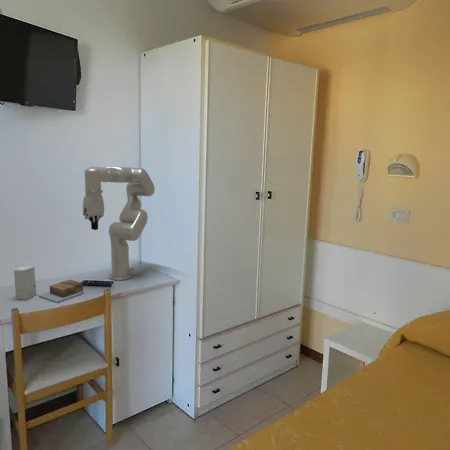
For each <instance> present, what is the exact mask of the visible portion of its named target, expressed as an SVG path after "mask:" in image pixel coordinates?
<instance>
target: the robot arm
mask: <svg viewBox="0 0 450 450" xmlns="http://www.w3.org/2000/svg"><path fill="white" fill-rule="evenodd" d="M102 183H115V184H116V183H127V184H126V187H125V188H126V189H125V190H126V197H127V200H126V201H127V202H126V204H125V206H124V207H123V209H122V211H121V212H120V214H119V217H118V218H119V219H118V220H119V221H115V222H113V223H110V225H109V226H108V227H109V228H108V236H109V239H110V251H111V252H110V255H111V256H110V257H111V258H110V259H111V273H109V275H108V278H109V279H110V280H114V281H125V280H129V279H130V278H132V276H133V274H132V273H131V272H133V271H135V266H133V267H130V261H129V260H130V259H129V257H130V256H129V255H130V253H129V250H130V248H129V243H128V242H127V241H130V242H132V241H133V242H134V241H135V242H136V241H137V240H138V239H139V238H140V237H141V234H142V232H143V231H144V229H145V227H146V225H147V222H148V213H147V211H146V210H144V209H142V202H141V201H140V198H139V197H151V196H153V195H154V193H155V189H156V188H155V185H154V184H155V183H154V182H153V180H152V179H151V177H150V175H149V174H148V171H147V170H146V169H144V168H142V167H128V166H107V167H106V166H90V167H89V166H88V168H85V170H84V187H85V189H84V191H85V196H83V200H82V201H83V203H82V215H83V216H84V220H89V222H90V226H91V230H93V231H97V230H99V221H100V219H101V218H104V217H105V215H104V213H105V204H104V202H105V201H104V197H103V195H102V193H103V191H104V190H102Z"/></svg>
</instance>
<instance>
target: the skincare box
mask: <svg viewBox="0 0 450 450" xmlns="http://www.w3.org/2000/svg"><path fill="white" fill-rule="evenodd" d="M35 271H36V270H35V266H33V265H22V266H20V267H17V268H15V269H14V270H13V273H14V277H13V278H14V286H15V287H14V289H15V299H16V300H23V301H24V300H25V301H27V300H29V299H31V298H32V297H34V296H36V295H37V286H36V274H35V273H36V272H35Z"/></svg>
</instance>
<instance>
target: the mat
mask: <svg viewBox="0 0 450 450" xmlns="http://www.w3.org/2000/svg"><path fill="white" fill-rule="evenodd" d="M82 295H84V292H83V291H81V292H78V293H76V294H73V295H70V296H67V297H64V298H62V297H59V296H56V295H53V294H50V291H48V292H45V293H42V294H39V295H38V298H41V299H44V300H47V301H49V302H53V303H56V304H59V303H61V302H65V301H68V300H70V299H73V298H76V297H79V296H82Z"/></svg>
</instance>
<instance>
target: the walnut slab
mask: <svg viewBox="0 0 450 450" xmlns="http://www.w3.org/2000/svg"><path fill="white" fill-rule="evenodd" d="M83 284H84V283H82V282H79V281H77V280H76V281H75V280H73V279H67V280H64V281H61V282H57V283H54V284H50V285H49V292H50V294H53V295H56V296H59V297H62V298H64V297H67V296H70V295H73V294H76V293H78V292H83V291H84V285H83Z"/></svg>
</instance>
